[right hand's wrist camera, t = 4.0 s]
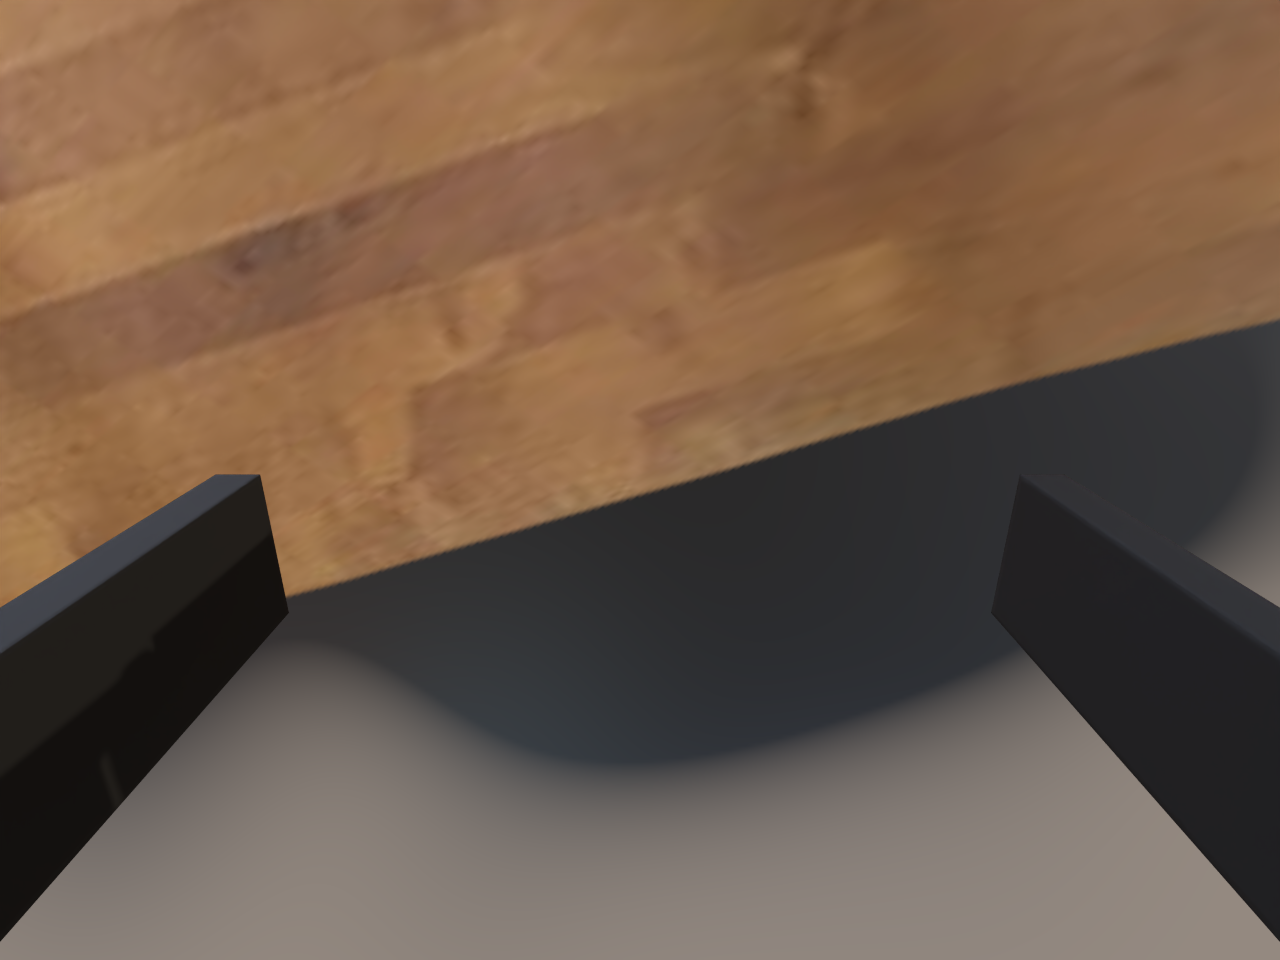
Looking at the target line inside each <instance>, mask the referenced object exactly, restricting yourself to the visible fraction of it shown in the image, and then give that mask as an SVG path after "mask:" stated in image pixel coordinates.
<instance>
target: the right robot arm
mask: <svg viewBox="0 0 1280 960" xmlns="http://www.w3.org/2000/svg"><path fill="white" fill-rule="evenodd" d="M288 613H289V612H288V607H287V602H286V597H285V593H284V588H283V583H282V578H281V573H280V568H279V564H278V559H277V554H276V549H275V544H274V539H273V535H272V530H271V525H270V520H269V515H268V511H267V506H266V501H265V496H264V491H263V486H262V482H261V477H260V475H214V476H213V477H211V478H209V479H208V480H206V481H205V482H203V483H201V484H200V485H198V486H196V487H195V488H193V489H192V490H190V491H188V492H187V493H185V494H184V495H182V496H180V497H179V498H177V499H175V500H174V501H172V502H171V503H169V504H167V505H166V506H164V507H162V508H161V509H159V510H158V511H156V512H154V513H153V514H151V515H150V516H148V517H146V518H145V519H143V520H141V521H140V522H138V523H137V524H135V525H133V526H132V527H130V528H128V529H127V530H125V531H124V532H122V533H120V534H119V535H117V536H116V537H114V538H112V539H111V540H109V541H107V542H106V543H104V544H103V545H101V546H99V547H98V548H96V549H94V550H93V551H91V552H90V553H88V554H86V555H85V556H83V557H82V558H80V559H78V560H77V561H75V562H73V563H72V564H70V565H69V566H67V567H65V568H64V569H62V570H60V571H59V572H57V573H56V574H54V575H52V576H51V577H49V578H48V579H46V580H44V581H43V582H41V583H39V584H38V585H36V586H35V587H33V588H31V589H30V590H28V591H26V592H25V593H23V594H22V595H20V596H18V597H17V598H15V599H14V600H12V601H10V602H9V603H7V604H5V605H4V606H2V607H1V608H0V941H1V940H2V939H3V938H4V937H5V936H6V934H7V933H8V932H9V931H10V930H11V929H12V928H13V926H14V925H15V924H16V923H17V922H18V921H19V920H20V918H21V917H22V916H23V915H24V914H25V913H26V912H27V911H28V909H29V908H30V907H31V906H32V905H33V904H34V903H35V901H36V900H37V899H38V898H39V897H40V896H41V895H42V893H43V892H44V891H45V890H46V889H47V888H48V887H49V885H50V884H51V883H52V882H53V881H54V880H55V879H56V877H57V876H58V875H59V874H60V873H61V872H62V871H63V870H64V868H65V867H66V866H67V865H68V864H69V863H70V861H71V860H72V859H73V858H74V857H75V856H76V855H77V854H78V852H79V851H80V850H81V849H82V848H83V847H84V846H85V844H86V843H87V842H88V841H89V840H90V839H91V838H92V836H93V835H94V834H95V833H96V832H97V831H98V830H99V828H100V827H101V826H102V825H103V824H104V823H105V822H106V820H107V819H108V818H109V817H110V816H111V815H112V814H113V812H114V811H115V810H116V809H117V808H118V807H119V806H120V805H121V803H122V802H123V801H124V800H125V799H126V798H127V797H128V795H129V794H130V793H131V792H132V791H133V790H134V789H135V787H136V786H137V785H138V784H139V783H140V782H141V781H142V779H143V778H144V777H145V776H146V775H147V774H148V773H149V771H150V770H151V769H152V768H153V767H154V766H155V765H156V764H157V762H158V761H159V760H160V759H161V758H162V757H163V755H164V754H165V753H166V752H167V751H168V750H169V749H170V748H171V746H172V745H173V744H174V743H175V742H176V741H177V740H178V738H179V737H180V736H181V735H182V734H183V733H184V732H185V730H186V729H187V728H188V727H189V726H190V725H191V724H192V723H193V721H194V720H195V719H196V718H197V717H198V716H199V715H200V713H201V712H202V711H203V710H204V709H205V708H206V706H207V705H208V704H209V703H210V702H211V701H212V700H213V698H214V697H215V696H216V695H217V694H218V693H219V692H220V691H221V689H222V688H223V687H224V686H225V685H226V684H227V683H228V681H229V680H230V679H231V678H232V677H233V676H234V675H235V673H236V672H237V671H238V670H239V669H240V668H241V667H242V666H243V664H244V663H245V662H246V661H247V660H248V659H249V658H250V656H251V655H252V654H253V653H254V652H255V651H256V650H257V648H258V647H259V646H260V645H261V644H262V643H263V642H264V640H265V639H266V638H267V637H268V636H269V635H270V634H271V632H272V631H273V630H274V629H275V628H276V627H277V626H278V624H279V623H280V622H281V621H282V620H283V619H284V618H285V616H286V615H287V614H288ZM991 613H992V614H993V615H994V617H995V618H996V619H997V620H998V621H999V622H1000V623H1001V625H1002V626H1003V627H1004V628H1005V629H1006V630H1007V631H1008V632H1009V634H1010V635H1011V636H1012V637H1013V638H1014V639H1015V640H1016V642H1017V643H1018V644H1019V645H1020V646H1021V647H1022V648H1023V650H1024V651H1025V652H1026V653H1027V654H1028V655H1029V656H1030V658H1031V659H1032V660H1033V661H1034V662H1035V663H1036V664H1037V665H1038V667H1039V668H1040V669H1041V670H1042V671H1043V672H1044V673H1045V675H1046V676H1047V677H1048V678H1049V679H1050V680H1051V681H1052V683H1053V684H1054V685H1055V686H1056V687H1057V688H1058V689H1059V691H1060V692H1061V693H1062V694H1063V695H1064V696H1065V697H1066V699H1067V700H1068V701H1069V702H1070V703H1071V704H1072V705H1073V707H1074V708H1075V709H1076V710H1077V711H1078V712H1079V713H1080V715H1081V716H1082V717H1083V718H1084V719H1085V720H1086V721H1087V722H1088V724H1089V725H1090V726H1091V727H1092V728H1093V729H1094V730H1095V732H1096V733H1097V734H1098V735H1099V736H1100V737H1101V738H1102V740H1103V741H1104V742H1105V743H1106V744H1107V745H1108V746H1109V748H1110V749H1111V750H1112V751H1113V752H1114V753H1115V754H1116V756H1117V757H1118V758H1119V759H1120V760H1121V761H1122V762H1123V764H1124V765H1125V766H1126V767H1127V768H1128V769H1129V770H1130V771H1131V773H1132V774H1133V775H1134V776H1135V777H1136V778H1137V779H1138V781H1139V782H1140V783H1141V784H1142V785H1143V786H1144V787H1145V789H1146V790H1147V791H1148V792H1149V793H1150V794H1151V795H1152V797H1153V798H1154V799H1155V800H1156V801H1157V802H1158V803H1159V805H1160V806H1161V807H1162V808H1163V809H1164V810H1165V811H1166V812H1167V814H1168V815H1169V816H1170V817H1171V818H1172V819H1173V821H1174V822H1175V823H1176V824H1177V825H1178V826H1179V827H1180V828H1181V830H1182V831H1183V832H1184V833H1185V834H1186V835H1187V836H1188V838H1189V839H1190V840H1191V841H1192V842H1193V843H1194V844H1195V846H1196V847H1197V848H1198V849H1199V850H1200V851H1201V852H1202V854H1203V855H1204V856H1205V857H1206V858H1207V859H1208V860H1209V862H1210V863H1211V864H1212V865H1213V866H1214V867H1215V868H1216V869H1217V871H1218V872H1219V873H1220V874H1221V875H1222V876H1223V877H1224V879H1225V880H1226V881H1227V882H1228V883H1229V884H1230V885H1231V887H1232V888H1233V889H1234V890H1235V891H1236V892H1237V893H1238V895H1239V896H1240V897H1241V898H1242V899H1243V900H1244V901H1245V903H1246V904H1247V905H1248V906H1249V907H1250V908H1251V909H1252V911H1253V912H1254V913H1255V914H1256V915H1257V916H1258V917H1259V918H1260V920H1261V921H1262V922H1263V923H1264V924H1265V925H1266V926H1267V928H1268V929H1269V930H1270V931H1271V932H1272V933H1273V934H1274V936H1275V937H1276V938H1277V939H1278V940H1279V941H1280V608H1279V607H1278V606H1276V605H1274V604H1273V603H1271V602H1270V601H1268V600H1266V599H1265V598H1263V597H1262V596H1260V595H1258V594H1257V593H1255V592H1254V591H1252V590H1250V589H1249V588H1247V587H1245V586H1244V585H1242V584H1241V583H1239V582H1237V581H1236V580H1234V579H1232V578H1231V577H1229V576H1228V575H1226V574H1224V573H1223V572H1221V571H1220V570H1218V569H1216V568H1215V567H1213V566H1211V565H1210V564H1208V563H1207V562H1205V561H1203V560H1202V559H1200V558H1198V557H1197V556H1195V555H1194V554H1192V553H1190V552H1189V551H1187V550H1186V549H1184V548H1182V547H1181V546H1179V545H1177V544H1176V543H1174V542H1173V541H1171V540H1169V539H1168V538H1166V537H1164V536H1163V535H1161V534H1160V533H1158V532H1156V531H1155V530H1153V529H1152V528H1150V527H1148V526H1147V525H1145V524H1143V523H1142V522H1140V521H1139V520H1137V519H1135V518H1134V517H1132V516H1130V515H1129V514H1127V513H1126V512H1124V511H1122V510H1121V509H1119V508H1117V507H1116V506H1114V505H1113V504H1111V503H1109V502H1108V501H1106V500H1105V499H1103V498H1101V497H1100V496H1098V495H1096V494H1095V493H1093V492H1092V491H1090V490H1088V489H1087V488H1085V487H1083V486H1082V485H1080V484H1079V483H1077V482H1075V481H1074V480H1072V479H1071V478H1069V477H1067V476H1066V475H1020V477H1019V482H1018V486H1017V491H1016V496H1015V501H1014V506H1013V511H1012V515H1011V520H1010V525H1009V530H1008V535H1007V539H1006V544H1005V549H1004V554H1003V559H1002V564H1001V569H1000V573H999V578H998V583H997V588H996V593H995V597H994V602H993V607H992V612H991Z"/></svg>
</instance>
